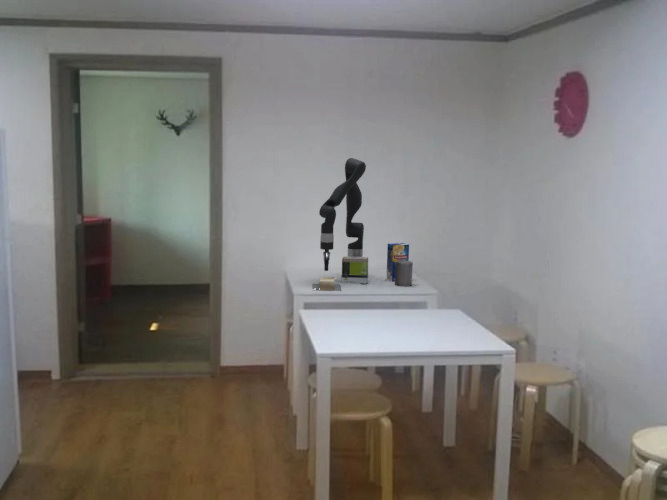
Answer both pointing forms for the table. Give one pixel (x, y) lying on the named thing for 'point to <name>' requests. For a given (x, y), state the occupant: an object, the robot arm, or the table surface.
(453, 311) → the table surface
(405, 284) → the pillar candle
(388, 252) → the blue food box
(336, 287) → the mat
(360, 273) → the tea box
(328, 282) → the block
